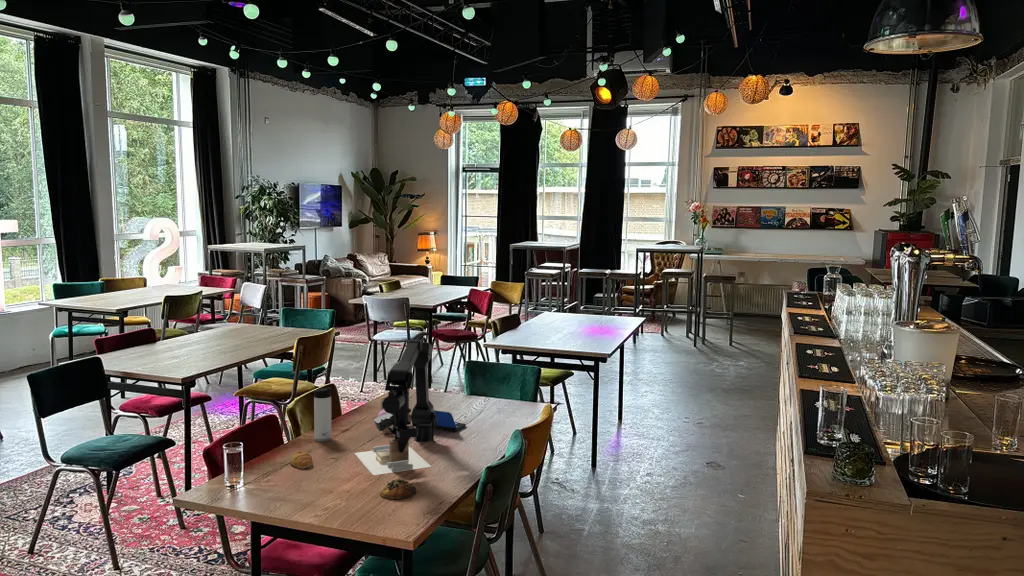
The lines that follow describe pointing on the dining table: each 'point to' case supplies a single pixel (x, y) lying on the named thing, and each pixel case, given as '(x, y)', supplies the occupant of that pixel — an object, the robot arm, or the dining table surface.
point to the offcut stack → (383, 457)
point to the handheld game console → (447, 422)
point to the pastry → (301, 460)
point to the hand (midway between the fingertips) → (400, 451)
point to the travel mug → (322, 414)
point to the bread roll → (398, 489)
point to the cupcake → (388, 427)
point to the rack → (390, 467)
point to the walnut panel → (397, 451)
